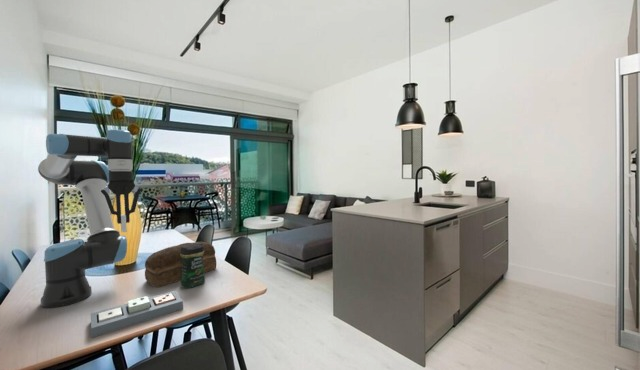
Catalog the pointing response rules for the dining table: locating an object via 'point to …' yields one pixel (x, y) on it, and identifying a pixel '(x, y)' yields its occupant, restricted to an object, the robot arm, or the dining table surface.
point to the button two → (138, 304)
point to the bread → (174, 264)
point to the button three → (163, 299)
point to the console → (133, 315)
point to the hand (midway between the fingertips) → (123, 231)
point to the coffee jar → (192, 265)
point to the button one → (110, 314)
